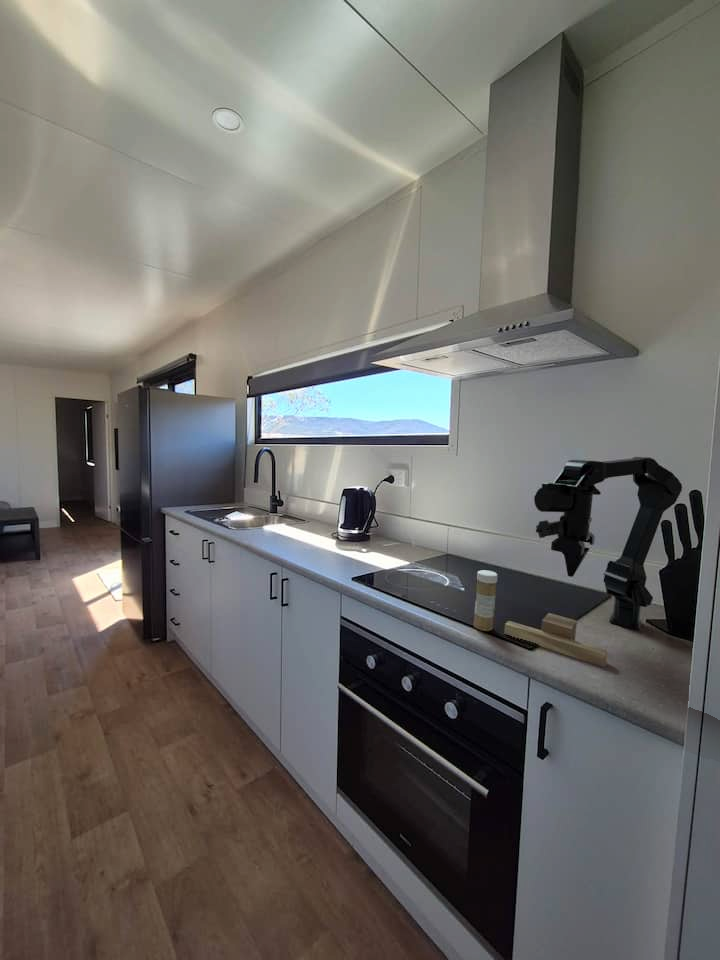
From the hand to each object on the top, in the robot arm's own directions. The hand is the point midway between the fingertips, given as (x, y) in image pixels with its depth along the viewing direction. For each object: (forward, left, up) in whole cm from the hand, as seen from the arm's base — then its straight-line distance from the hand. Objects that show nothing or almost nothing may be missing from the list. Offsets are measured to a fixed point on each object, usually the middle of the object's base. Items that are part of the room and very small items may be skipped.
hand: (570, 576), depth 97 cm
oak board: (+14, 0, -13) cm, 19 cm away
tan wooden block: (+9, 0, -13) cm, 16 cm away
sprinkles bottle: (+15, -15, -13) cm, 25 cm away
